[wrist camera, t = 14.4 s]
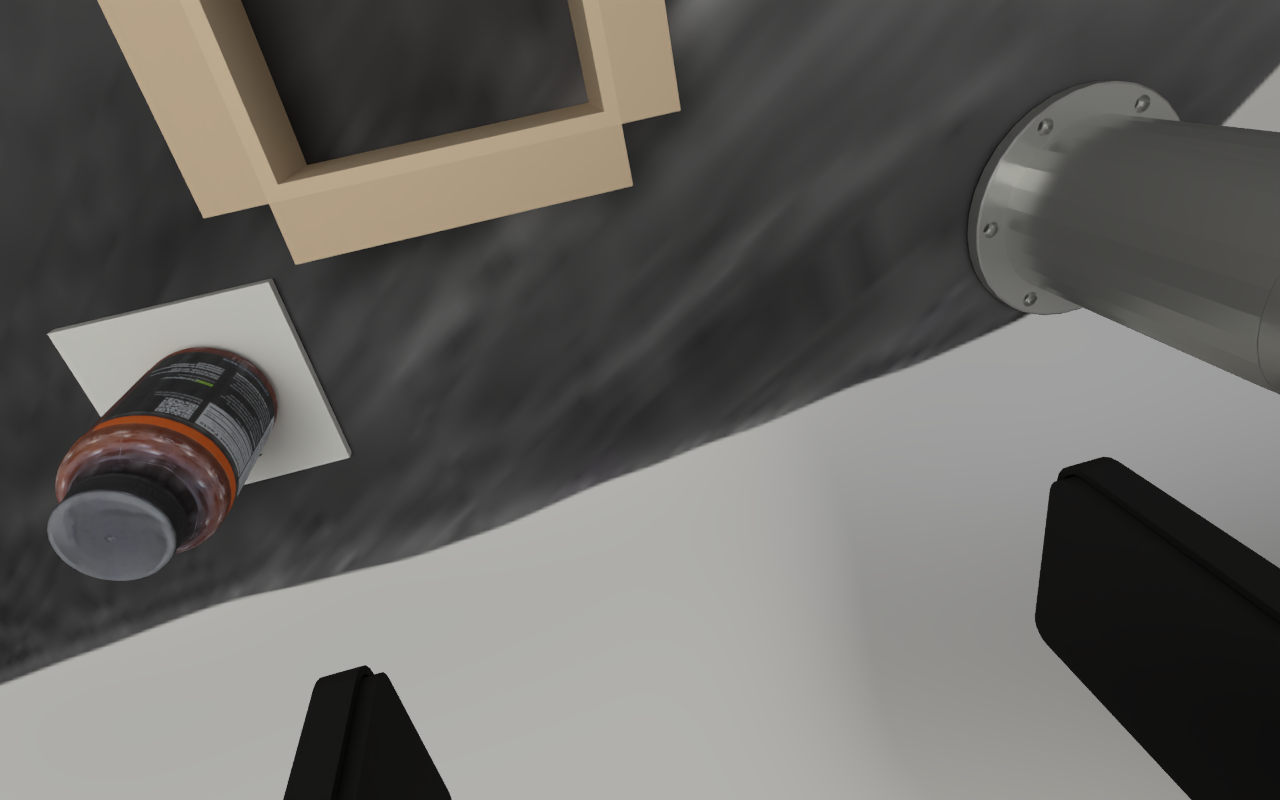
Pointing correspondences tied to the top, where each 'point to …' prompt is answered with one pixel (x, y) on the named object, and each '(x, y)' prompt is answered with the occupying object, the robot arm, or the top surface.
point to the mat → (223, 320)
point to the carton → (393, 176)
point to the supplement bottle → (161, 464)
